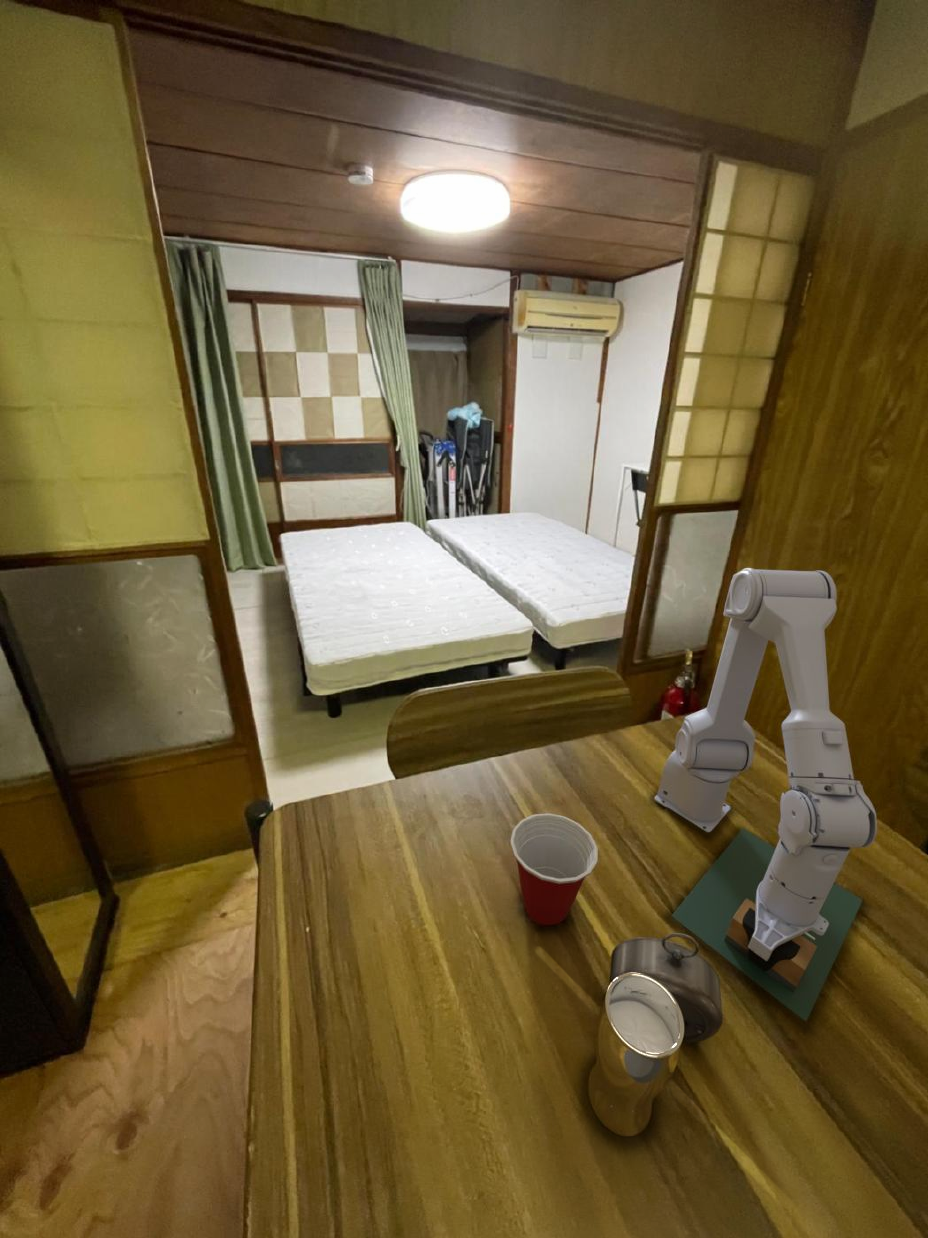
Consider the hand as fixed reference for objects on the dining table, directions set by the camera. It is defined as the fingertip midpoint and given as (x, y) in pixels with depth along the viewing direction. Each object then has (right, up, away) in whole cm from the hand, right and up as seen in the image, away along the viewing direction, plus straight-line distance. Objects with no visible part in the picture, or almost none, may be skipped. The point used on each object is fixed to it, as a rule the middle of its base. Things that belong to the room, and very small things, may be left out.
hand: (765, 951), depth 63 cm
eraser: (0, -1, 0) cm, 1 cm away
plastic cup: (-26, +2, +6) cm, 27 cm away
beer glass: (-21, -7, -12) cm, 25 cm away
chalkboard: (+4, +1, +6) cm, 7 cm away
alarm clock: (-16, -5, -6) cm, 18 cm away
